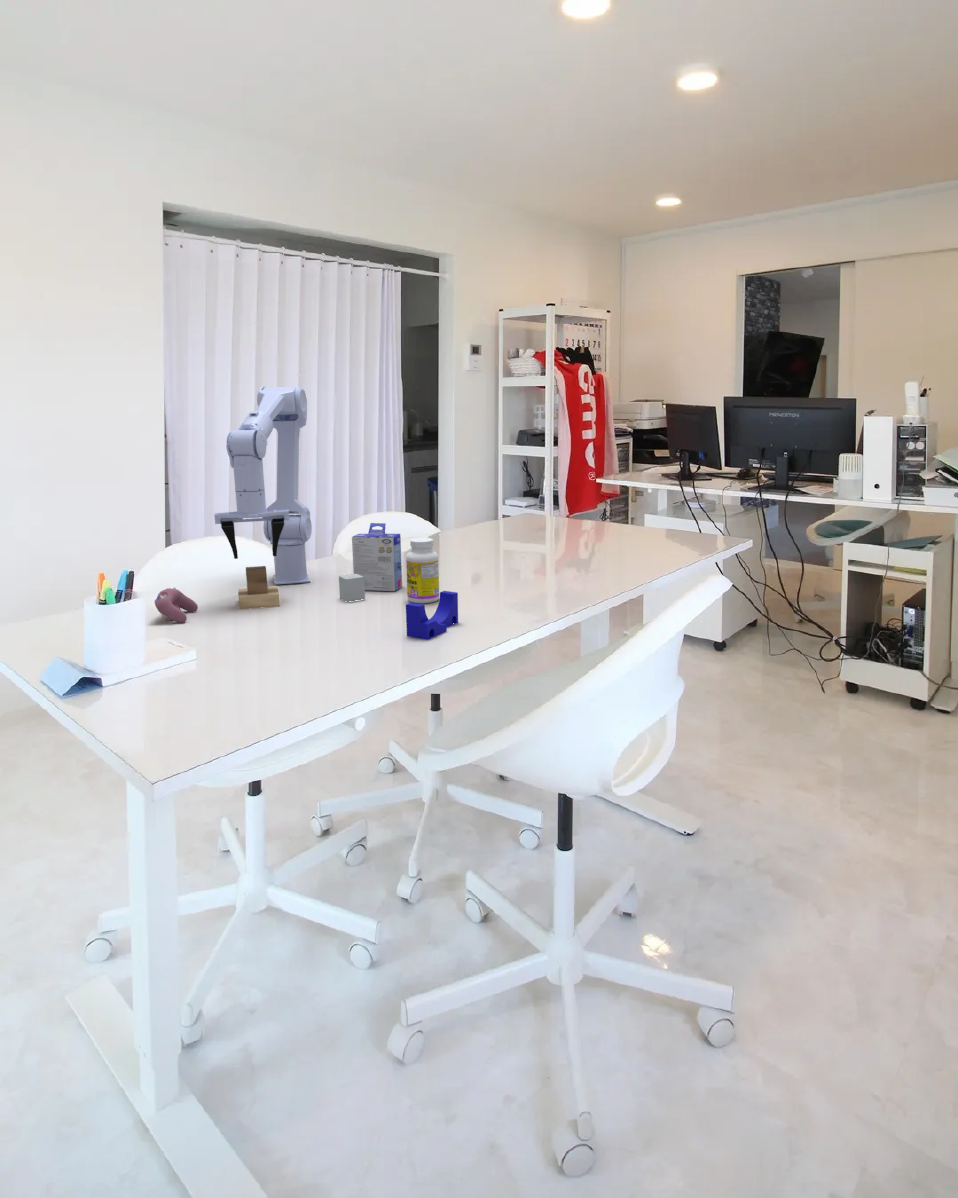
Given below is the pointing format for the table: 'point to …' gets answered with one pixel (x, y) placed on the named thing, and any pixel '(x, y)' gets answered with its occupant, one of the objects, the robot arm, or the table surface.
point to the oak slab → (258, 598)
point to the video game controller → (174, 604)
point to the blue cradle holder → (438, 623)
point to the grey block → (351, 587)
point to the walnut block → (256, 580)
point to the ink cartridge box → (378, 559)
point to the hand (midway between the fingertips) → (255, 556)
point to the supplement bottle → (422, 572)
